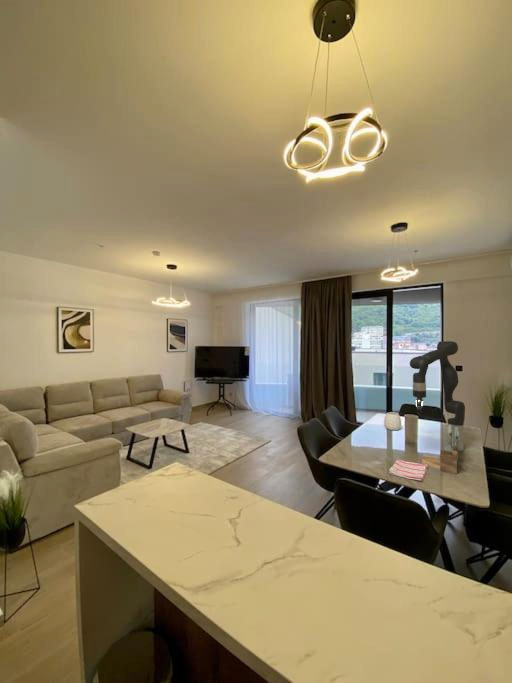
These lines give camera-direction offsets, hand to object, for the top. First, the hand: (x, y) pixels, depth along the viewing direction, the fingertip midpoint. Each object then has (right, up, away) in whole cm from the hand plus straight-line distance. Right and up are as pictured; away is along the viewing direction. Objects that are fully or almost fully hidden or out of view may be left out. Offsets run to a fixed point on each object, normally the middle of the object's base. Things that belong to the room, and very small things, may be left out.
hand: (419, 414), depth 190 cm
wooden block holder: (+8, -28, -16) cm, 33 cm away
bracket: (+19, -28, -3) cm, 33 cm away
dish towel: (-16, -29, -18) cm, 38 cm away
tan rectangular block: (+2, -28, -12) cm, 31 cm away
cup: (+11, -28, +62) cm, 69 cm away
